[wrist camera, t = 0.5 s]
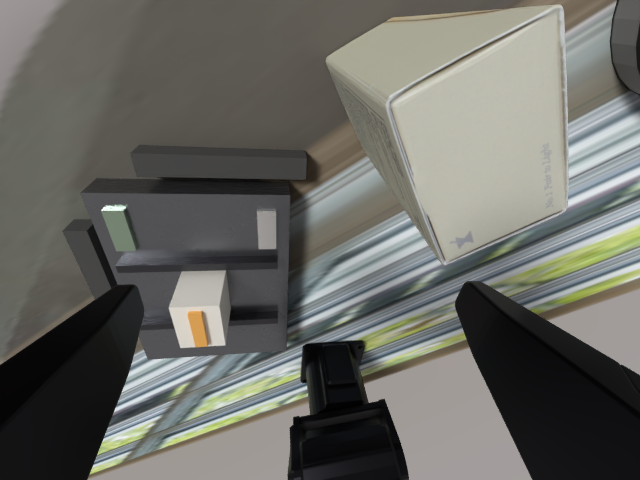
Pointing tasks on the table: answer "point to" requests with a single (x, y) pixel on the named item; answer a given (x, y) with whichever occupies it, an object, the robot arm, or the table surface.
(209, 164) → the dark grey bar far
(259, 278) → the panel
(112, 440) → the table surface
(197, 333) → the breaker lever
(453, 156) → the skincare box
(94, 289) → the dark grey bar
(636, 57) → the headset
